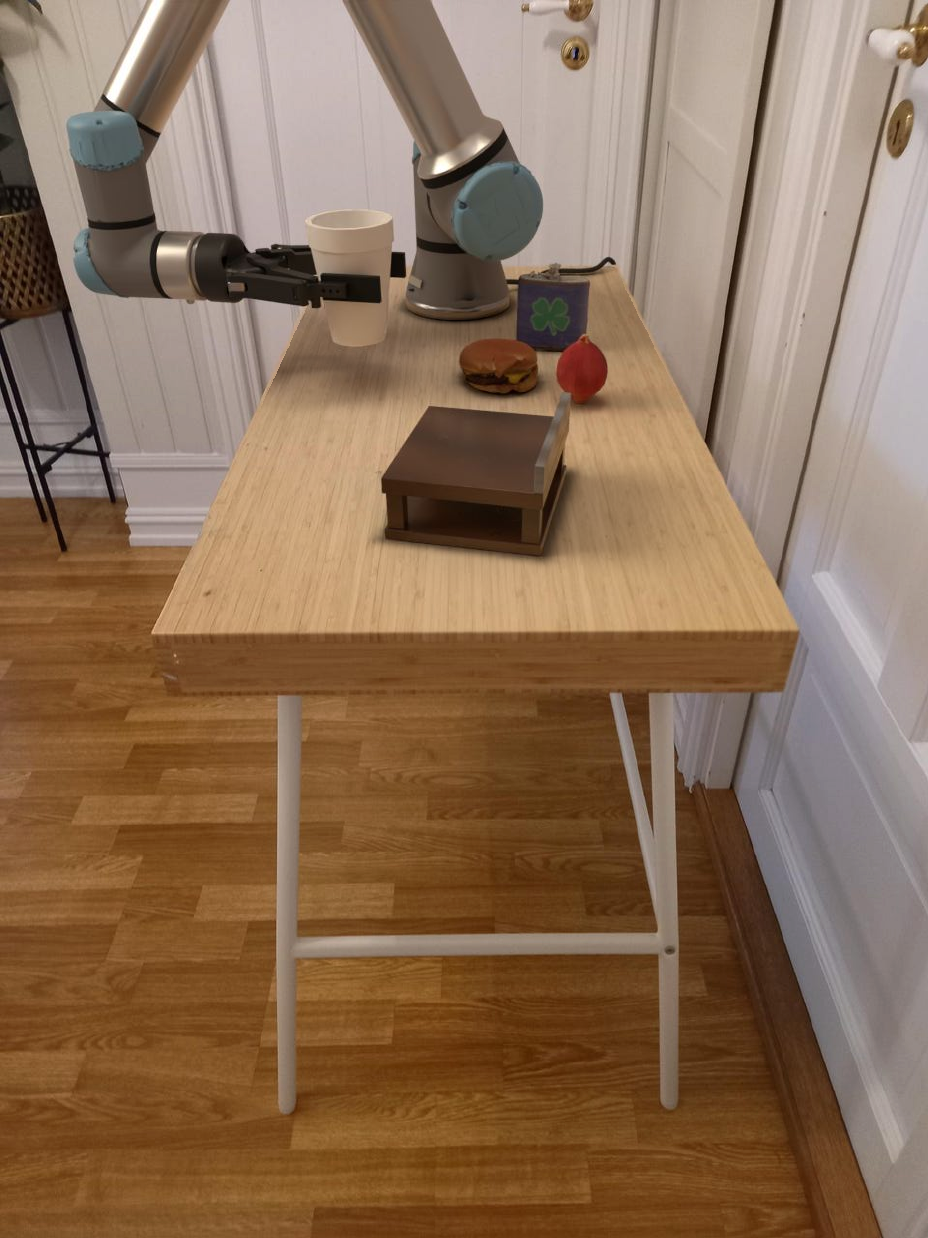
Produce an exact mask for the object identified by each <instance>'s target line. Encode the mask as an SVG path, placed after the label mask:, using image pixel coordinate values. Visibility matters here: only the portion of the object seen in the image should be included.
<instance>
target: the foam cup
mask: <svg viewBox="0 0 928 1238" xmlns="http://www.w3.org/2000/svg"><path fill="white" fill-rule="evenodd" d="M304 220H305V230H306V240H307V245H309V247H310V248H311V251H312V255H313V259H314V264H315V268H316V272H317V275H316V276H318V280H319V281H321V278H320V275H321V274H322V273H335V274H354V275H374V276H380V283H381V298H382V302H381V303H363V302H346V301H328V300H323V297H321V298H322V303H323V306H324V311H325V316H326V319H327V323H328V328H329V333H330V336H331V340H332V342H333V343H335V344H336V345H339V346H343V347H349V348H352V347H356V348H357V347H368V346H374V345H376V344H378V343H381V342H383V341H384V340H385V339H387V330H388V317H389V315H388V314H389V300H390V283H391V277H390V269H391V253H392V252H393V251H392V250H393V243H394V242H395V234H394V232H395V231H394V218H393V217H392V215H391V214H390V213H388V212H384V211H381V210H376V209H375V210H374V209H366V208H350V209H349V208H348V209H346V208H345V209H344V208H343V209H337V210H327V211H322V212H320V213H316V214H312V215H310V216H309V217H307V218H306V219H304Z"/></svg>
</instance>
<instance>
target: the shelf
mask: <svg viewBox="0 0 928 1238" xmlns="http://www.w3.org/2000/svg"><path fill="white" fill-rule="evenodd" d="M571 402H572V398H571V393H567V392H564V391H563V392H562V394H561V396H560V399H559V401H558V404H557V406H556V409H555V412H554V415H542V414H530V413H529V414H528V413H517V412H506V411H496V410H495V411H493V410H481V409H469V408H461V407H460V408H458V407H446V406H434V405H428V407H427V408H426V410H425V411H424V413H423V414H422V416H421V417H420V419H419V420H418V421H417V423H416V425H415V426H414V428H413V429H412V431H411V432H410V433H409V435H408V437H406V440H405V441H404V443H403V444H402V445H401V447H400V449H399V450H398V452H397V453H396V455H395V456H394V458H393V459H392V460H391V462H390V464H389V466H388V467H387V468H386V470H385V471H384V473H383V474H382V476H381V478H380V483H381V493H382V494H384V495H385V505H386V518H387V519H386V521H387V524H386V526H385V527H384V530H383V531H384V539H387V540H394V541H405V542H413V543H421V544H422V543H423V544H431V545H441V546H448V547H449V546H450V547H457V548H467V549H475V550H484V551H493V552H502V553H511V554H519V555H520V554H521V555H527V556H528V555H529V556H536V557H537V556H538V557H540V556H541V555H542V551H543V549H544V546H545V542H546V540H547V537H548V533H549V530H550V526H551V523H552V520H553V516H554V513H555V510H556V507H557V504H558V501H559V498H560V495H561V492H562V489H563V485H564V483H565V478H566V475H567V467H568V466H567V464H565V456H566V441H567V438H568V435H569V433H570V419H571Z"/></svg>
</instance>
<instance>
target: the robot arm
mask: <svg viewBox="0 0 928 1238" xmlns="http://www.w3.org/2000/svg"><path fill="white" fill-rule="evenodd" d="M230 2H231V0H146V2H145V4H144V6H143V8H142V9H141V12H140V14H139V16H138V18H137V20H136V22H135V24H134V26H133V28H132V30H131V33H130V35H129V37H128V39H127V41H126V42H125V45H124V47H123V49H122V51H121V53H120V54H119V57H118V59H117V61H116V63H115V66H114V68H113V70H112V71H111V73H110V77H109V78H108V80H107V81H106V84H105V86H104V88H103V90H102V94H101V96H100V98H99V99H98V101H97V103H96V105H95V107H94V108H93V111H87V112H80V113H77V114H73V115H71V116H69V118H68V119H67V121H66V126H65V127H66V132H67V138H68V145H69V150H68V151H69V154H70V156H71V158H72V161H73V165H74V169H75V173H76V178H77V182H78V185H79V189H80V193H81V197H82V202H83V205H84V209H85V212H86V218H87V219H86V221H87V226H88V227H86V228H84V229H82V230H80V232H79V233H78V234H77V235H76V237H75V240H74V243H73V251H74V256H73V258H72V259H73V260H72V261H73V266H74V270H75V273H76V275H77V277H78V279H79V281H80V282H81V283H82V285H83V286H84V287H85V288H87V289H88V290H89V291H90V292H92V293H95V294H99V295H106V296H107V295H108V296H115V297H119V298H124V299H129V298H140V299H142V298H143V299H167V300H185V301H186V304H188V305H194V303H195V302H196V301H201V302H205V301H209V302H212V303H226V304H227V303H228V304H237V303H240V302H241V301H243V300H244V299H248V300H249V299H250V300H257V301H262V302H263V301H264V302H269V303H276V304H284V305H292V306H295V307H307V306H309V305H311V309H314V310H315V309H316V310H317V309H320V308H322V301H323V300H328V301H346V302H363V303H381V302H382V298H381V283H380V276H374V275H354V274H335V273H322V274H321V275H320V278H321V281H319V280H318V276H317V272H316V268H315V264H314V259H313V255H312V251H311V248H310V247H309V244H294V245H293V244H291V245H290V244H280V243H273V244H271V245H270V248H269V247H259V248H256V249H254V251H252V252H251V251H250V250H249V249H248V248H247V247H246V244H245V242H244V241H243V239H242V238H241V237H240V236H238V235H237V234H235V233H225V232H223V233H222V232H206V233H205V232H202V231H183V230H181V231H180V230H160V229H158V225H157V217H156V212H155V209H154V203H153V198H152V191H151V185H150V181H149V175H148V170H147V163H148V161H149V159H150V157H151V155H152V153H153V152H154V149H155V147H156V145H157V144H158V141H159V140H160V136H161V134H162V133H163V131H164V129H165V127H166V124H167V123H168V121H169V119H170V117H171V115H172V113H173V112H174V109H175V108H176V105H177V103H178V102H179V99H180V98H181V96H182V94H183V93H184V91H185V88H186V86H187V84H188V82H189V81H190V78H191V77H192V75H193V73H194V71H195V69H196V67H197V65H198V63H199V61H200V59H201V58H202V56H203V54H204V52H205V50H206V48H207V46H208V45H209V42H210V40H211V38H212V36H213V35H214V32H215V30H216V28H217V26H218V25H219V23H220V21H221V19H222V17H223V16H224V13H225V11H226V10H227V7H228V6H229V4H230ZM341 2H342V3H343V5H344V7H345V9H346V11H347V13H348V15H349V17H350V18H351V21H352V23H353V25H354V26H355V29H356V31H357V32H358V35H359V36H360V38H361V40H362V42H363V44H364V46H365V47H366V50H367V52H368V53H369V55H370V58H371V59H372V61H373V63H374V65H375V67H376V70H377V71H378V73H379V75H380V76H381V79H382V81H383V83H384V85H385V87H386V88H387V90H388V92H389V95H390V97H391V98H392V100H393V102H394V104H395V106H396V107H397V108H396V109H398V111H399V113H400V116H401V117H402V120H403V121H404V123H405V125H406V127H407V130H408V131H409V132H410V135H411V136H412V138H413V143H412V157H411V164H412V170H413V192H414V193H413V194H414V195H413V197H414V221H415V223H414V224H415V238H416V239H415V243H416V244H415V245H416V250H415V255H414V259H413V262H412V266H411V270H410V273H409V276H408V280H407V285H406V289H405V306H406V308H407V309H408V310H409V311H410V312H411V313H414V314H415V315H419V316H421V317H425V318H430V319H437V320H445V321H446V320H448V321H467V320H475V319H482V318H488V317H491V316H495V315H498V314H500V313H502V312H504V311H505V310H506V309H508V307H509V306H510V287H509V285H513V286H514V285H515V286H518V280H519V278H518V279H517V278H506V274H505V271H504V267H503V264H502V261H505V260H507V259H508V260H509V259H510V258H513V257H514V256H516V255H518V254H519V253H521V252H522V251H523V250H524V249H525V248H526V247H527V246H528V245H529V244H530V243H531V242H532V241H533V239H534V238H535V236H536V234H537V232H538V229H539V227H540V224H541V221H542V219H543V214H544V198H543V193H542V189H541V186H540V184H539V182H538V181H537V179H536V177H535V176H534V175H533V174H532V171H531V170H530V169H528V168H527V167H526V166H525V165H523V164H521V163H520V161H519V158H518V157H517V154H516V151H515V150H514V147H513V145H512V142H511V141H510V139H509V136H508V135H507V134H508V133H507V132H506V130H505V127H504V125H503V123H502V122H501V121H500V120H499V119H496V118H492V117H490V116H486V115H485V114H484V113H483V111H482V109H481V107H480V104H479V102H478V100H477V98H476V96H475V93H474V92H473V89H472V87H471V85H470V83H469V80H468V78H467V76H466V74H465V72H464V70H463V68H462V65H461V63H460V61H459V59H458V56H457V54H456V52H455V50H454V48H453V46H452V44H451V42H450V40H449V37H448V35H447V33H446V30H445V29H444V26H443V24H442V22H441V20H440V17H439V16H438V13H437V11H436V8H435V6H434V5H433V3H432V0H341ZM406 261H407V260H406V252H405V251H392V253H391V269H390V278H394V279H396V278H397V279H406V277H407V262H406ZM607 263H609V264H610V265H611V266H616V265H617V262H616V261H615V259H614V258H612V257H611V256H606V257H605V258H603V259H602V260H601V261H600V262H599V263H598V264H596V265H594V266H592V267H584V268H578V267H577V268H574V267H573V268H571V267H570V268H569V267H568V268H565V267H564V268H563V267H560V268H559V270H558V273H560V274H591V273H595V272H598V271H599V270H601V269H602V268H603V267H605V265H607ZM548 271H549V269H544V270H542V271H540V272H541V273H546V272H548ZM536 274H537V275H541V274H539V273H536ZM322 297H323V298H322ZM321 298H322V299H321Z"/></svg>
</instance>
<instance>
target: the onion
mask: <svg viewBox="0 0 928 1238" xmlns="http://www.w3.org/2000/svg"><path fill="white" fill-rule="evenodd" d="M557 360H558V361H557V364H556V369H555V370H556V372H555V376H556V381H557V383H558V385H559V387H560V388H561V390H562V391H563V392H567V393H571V399H573V401H574V402H575V403H577V404H583V403H585V402H587V401H588V400H589V399H591V398H592V397H593V396H594V395H596V394H597V393H599V392H600V391H601V390H602V389H603V388H604V386H605V384H606V381H607V379H608V373H609V369H608V368H609V367H608V362H607V361H608V360H607V359H606V356H605V355H604V353H603V352H602V350H601V349H600V347H598V346H597V345H596V344H595V343H594V342H592V341H591V340H590V335H588V334H587V333H586V334H583V335H582V336H581V337H580V338H579V340H578V341H577V342H575V343H573V344H571V345H570V346H569V347H568V348H567V349H566V350H565V351H562V353H561V354H560V356H559V358H558V359H557Z"/></svg>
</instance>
